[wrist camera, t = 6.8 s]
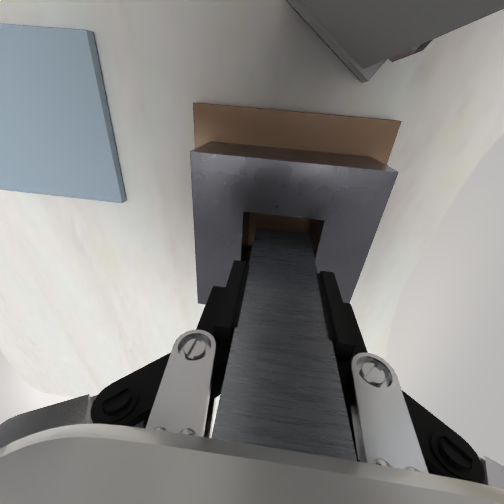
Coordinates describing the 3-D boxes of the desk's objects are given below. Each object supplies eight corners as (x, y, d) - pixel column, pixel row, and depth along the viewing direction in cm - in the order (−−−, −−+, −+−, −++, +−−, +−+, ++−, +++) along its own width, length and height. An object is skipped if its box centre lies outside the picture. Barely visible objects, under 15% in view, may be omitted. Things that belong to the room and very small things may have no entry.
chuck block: (210, 141, 16) (190, 151, 12) (371, 156, 15) (398, 172, 12) (211, 270, 21) (198, 303, 17) (332, 285, 20) (342, 322, 17)
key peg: (256, 227, 14) (203, 478, 5) (309, 233, 14) (366, 505, 4) (252, 270, 16) (206, 523, 6) (300, 276, 15) (327, 545, 6)
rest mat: (-70, 20, 15) (-82, 17, 14) (93, 32, 14) (86, 29, 14) (6, 187, 20) (-2, 189, 19) (126, 200, 19) (122, 203, 19)
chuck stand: (197, 102, 15) (193, 102, 15) (394, 120, 15) (401, 121, 14) (204, 280, 23) (200, 287, 22) (335, 297, 22) (338, 304, 21)
